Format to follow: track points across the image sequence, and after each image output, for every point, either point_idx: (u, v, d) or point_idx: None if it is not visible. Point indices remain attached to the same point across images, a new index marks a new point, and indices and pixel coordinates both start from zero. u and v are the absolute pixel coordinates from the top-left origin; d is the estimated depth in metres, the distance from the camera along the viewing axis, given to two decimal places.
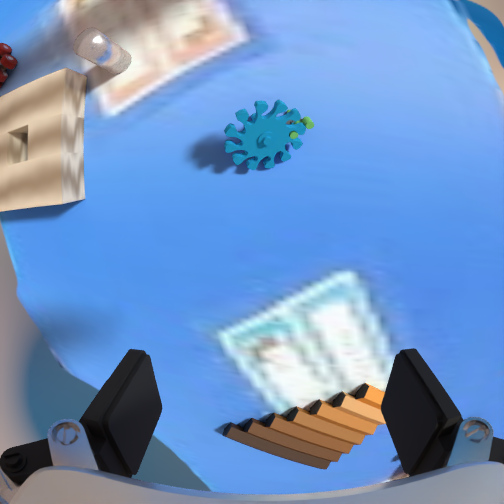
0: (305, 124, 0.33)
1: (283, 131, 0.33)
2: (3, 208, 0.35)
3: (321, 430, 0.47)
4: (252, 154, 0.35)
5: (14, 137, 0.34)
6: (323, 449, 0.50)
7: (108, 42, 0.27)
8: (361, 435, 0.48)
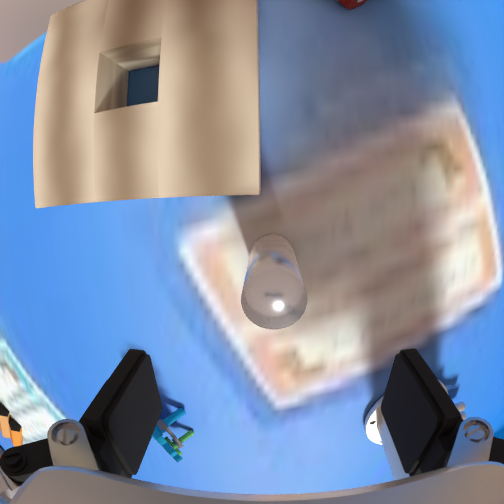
0: None
1: None
2: (44, 57, 0.18)
3: None
4: None
5: (159, 47, 0.19)
6: None
7: None
8: None
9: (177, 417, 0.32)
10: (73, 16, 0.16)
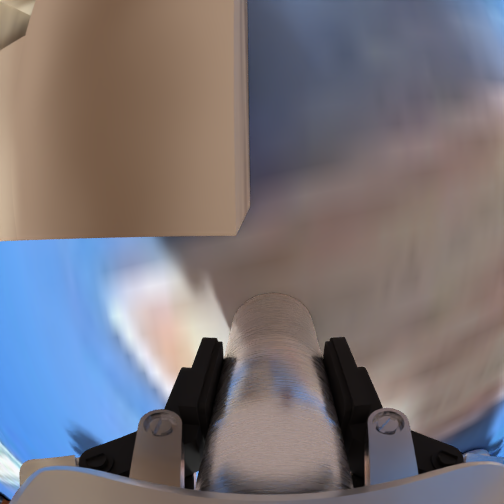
0: None
1: None
2: None
3: None
4: None
5: None
6: None
7: None
8: None
9: None
10: None
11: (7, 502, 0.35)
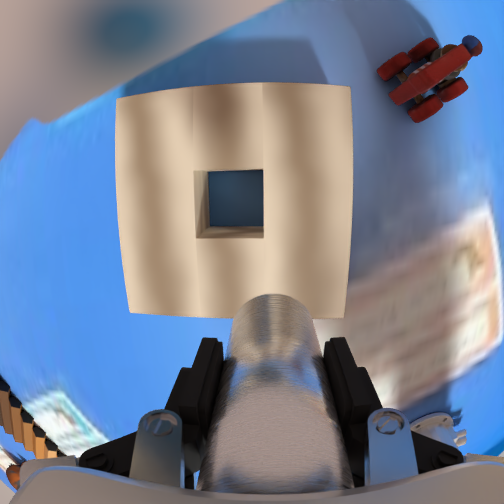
0: None
1: None
2: (119, 156, 0.23)
3: (24, 434, 0.42)
4: None
5: None
6: (10, 426, 0.44)
7: None
8: (31, 450, 0.45)
9: None
10: (149, 110, 0.22)
11: None
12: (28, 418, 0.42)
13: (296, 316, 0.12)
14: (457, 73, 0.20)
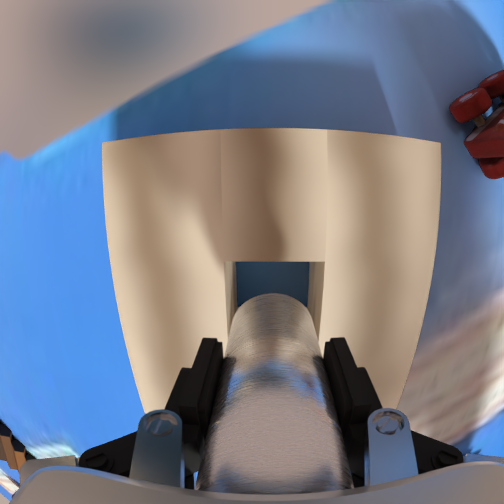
0: None
1: None
2: (113, 232, 0.16)
3: None
4: None
5: None
6: (14, 463, 0.37)
7: None
8: None
9: None
10: (152, 164, 0.15)
11: None
12: None
13: (296, 315, 0.12)
14: None
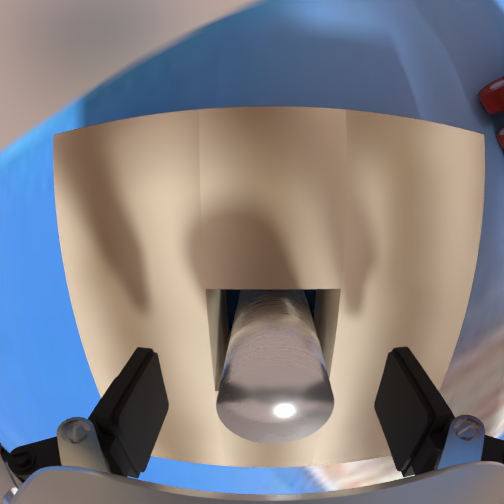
0: None
1: None
2: (68, 248, 0.12)
3: None
4: None
5: None
6: None
7: None
8: None
9: None
10: (110, 160, 0.11)
11: None
12: None
13: None
14: None
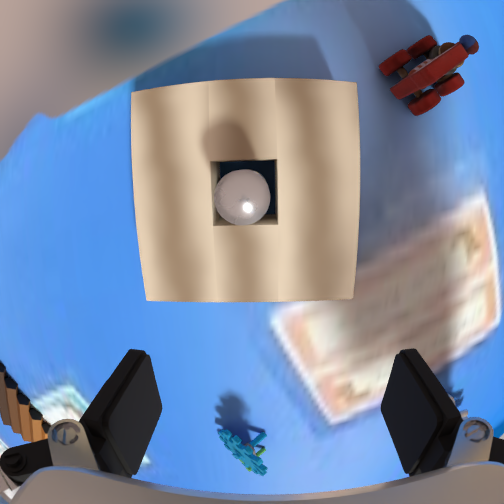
0: (248, 467, 0.39)
1: (244, 461, 0.38)
2: (136, 148, 0.24)
3: (33, 431, 0.43)
4: (229, 442, 0.38)
5: (266, 159, 0.26)
6: (18, 425, 0.45)
7: None
8: None
9: (261, 440, 0.39)
10: (165, 103, 0.23)
11: None
12: (37, 415, 0.43)
13: None
14: (454, 69, 0.22)
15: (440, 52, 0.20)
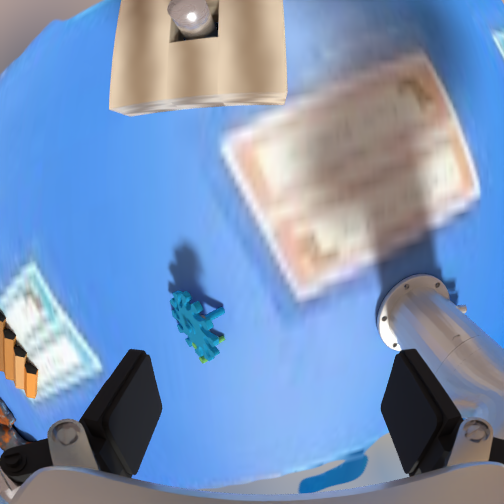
0: (202, 357, 0.39)
1: (196, 341, 0.38)
2: (123, 8, 0.24)
3: None
4: (179, 309, 0.38)
5: (214, 7, 0.26)
6: None
7: (191, 28, 0.24)
8: (2, 368, 0.47)
9: (217, 315, 0.39)
10: None
11: None
12: (0, 316, 0.43)
13: None
14: None
15: None
